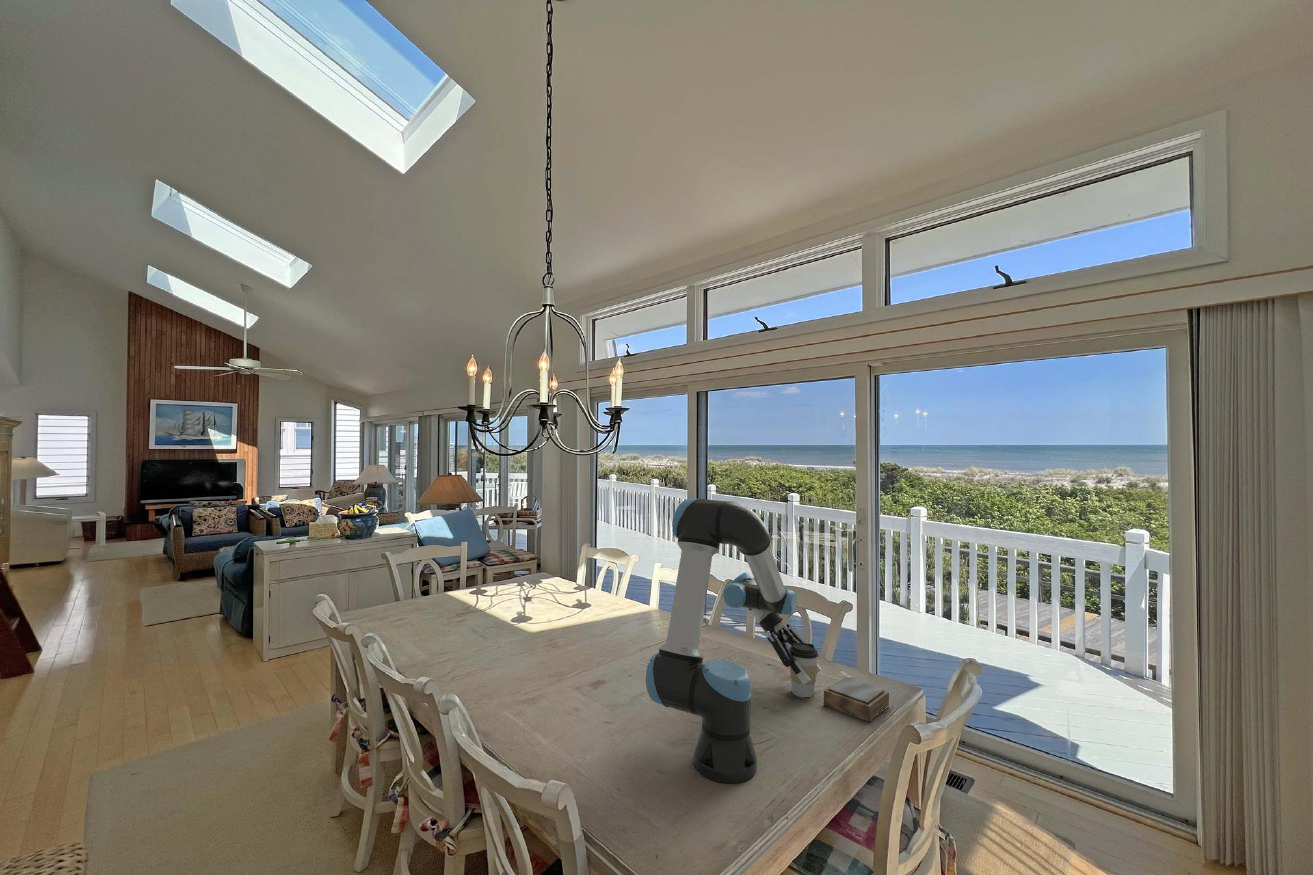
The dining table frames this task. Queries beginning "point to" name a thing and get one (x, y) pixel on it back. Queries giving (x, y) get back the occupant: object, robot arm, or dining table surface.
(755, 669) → the dining table surface
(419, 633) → the dining table surface
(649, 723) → the dining table surface
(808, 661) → the coffee cup
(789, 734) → the dining table surface
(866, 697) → the walnut block
